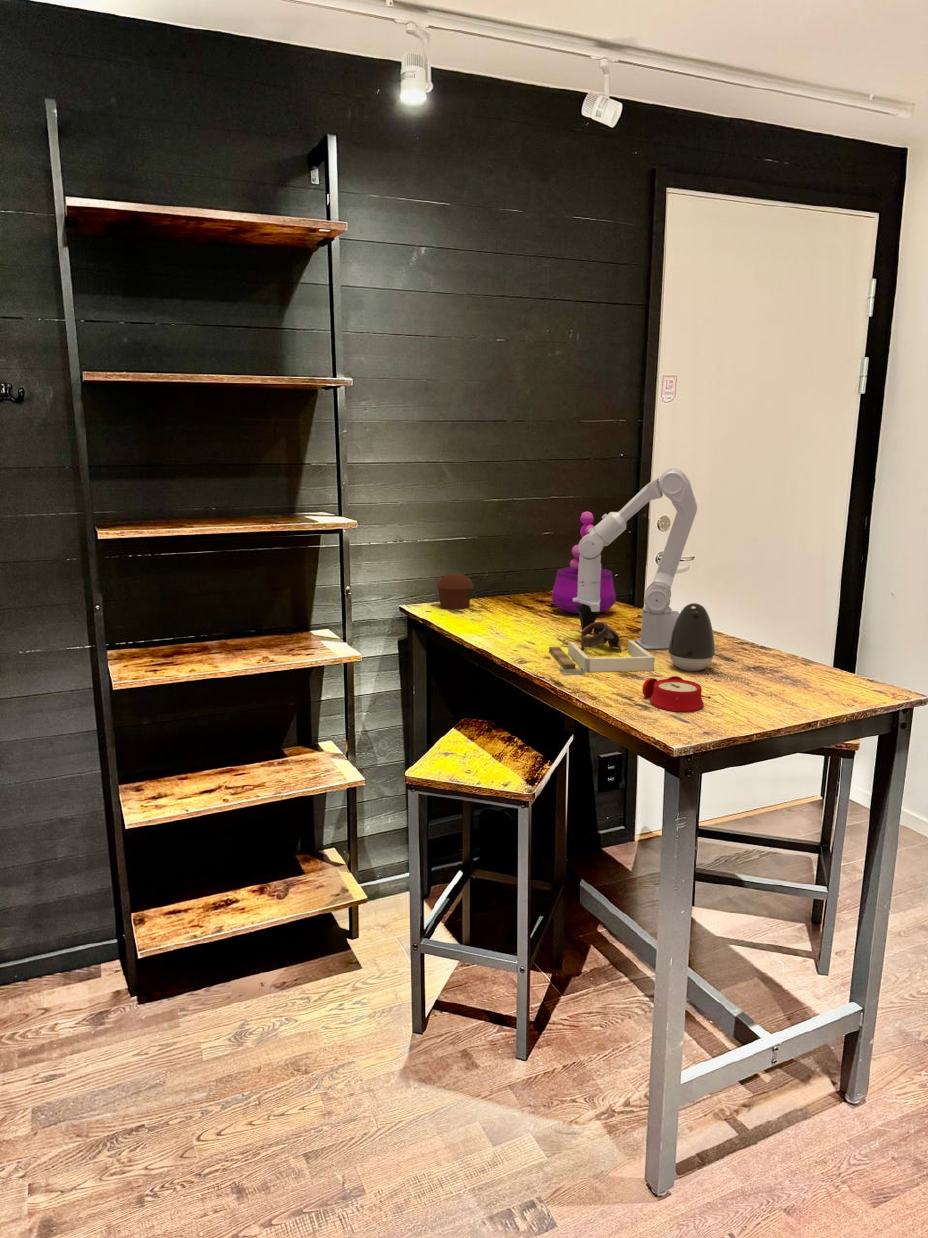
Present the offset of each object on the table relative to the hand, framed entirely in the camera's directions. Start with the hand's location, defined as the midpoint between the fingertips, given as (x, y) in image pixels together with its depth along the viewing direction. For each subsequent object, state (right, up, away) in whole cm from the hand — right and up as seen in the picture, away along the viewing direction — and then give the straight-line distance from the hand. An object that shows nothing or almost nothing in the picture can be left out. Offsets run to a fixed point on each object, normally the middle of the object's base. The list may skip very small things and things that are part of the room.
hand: (586, 633), depth 220 cm
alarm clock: (+10, -13, -48) cm, 51 cm away
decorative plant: (+4, +5, +34) cm, 35 cm away
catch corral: (+3, -6, -19) cm, 21 cm away
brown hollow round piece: (+2, -4, -8) cm, 10 cm away
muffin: (-34, +7, +40) cm, 53 cm away
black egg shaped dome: (+20, -8, -24) cm, 32 cm away
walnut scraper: (-8, -7, -20) cm, 23 cm away
